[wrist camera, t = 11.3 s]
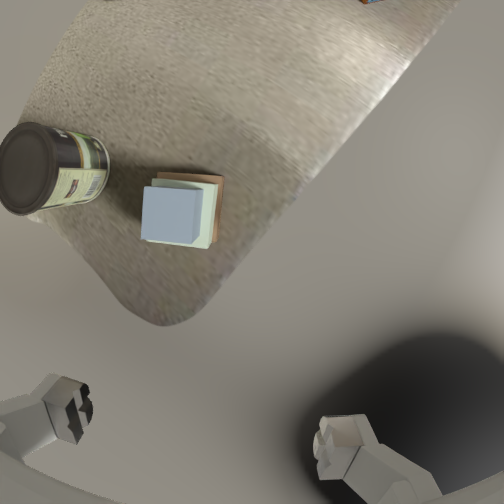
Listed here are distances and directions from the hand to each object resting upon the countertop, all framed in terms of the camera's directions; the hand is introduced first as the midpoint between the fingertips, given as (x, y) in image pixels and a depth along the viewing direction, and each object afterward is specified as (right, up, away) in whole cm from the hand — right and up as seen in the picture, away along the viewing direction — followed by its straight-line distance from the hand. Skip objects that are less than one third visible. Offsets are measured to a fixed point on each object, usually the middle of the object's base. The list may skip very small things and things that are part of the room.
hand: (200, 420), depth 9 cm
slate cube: (-6, +10, +24) cm, 27 cm away
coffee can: (-23, +18, +30) cm, 42 cm away
